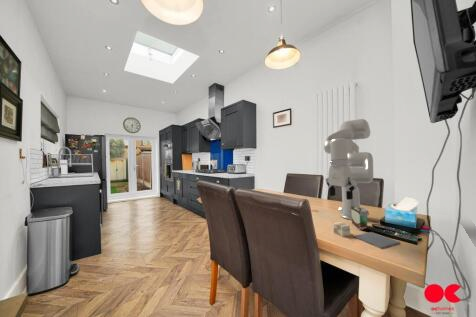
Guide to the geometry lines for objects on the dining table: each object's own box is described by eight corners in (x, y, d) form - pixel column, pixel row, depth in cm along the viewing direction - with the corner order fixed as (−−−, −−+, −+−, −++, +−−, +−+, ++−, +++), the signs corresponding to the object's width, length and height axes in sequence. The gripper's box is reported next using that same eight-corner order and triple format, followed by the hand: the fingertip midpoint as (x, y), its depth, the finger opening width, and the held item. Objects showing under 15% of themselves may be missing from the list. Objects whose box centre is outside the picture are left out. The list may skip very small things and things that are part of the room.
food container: (374, 232, 90) (373, 212, 90) (361, 231, 91) (360, 212, 91) (362, 223, 102) (362, 206, 102) (350, 223, 103) (350, 205, 104)
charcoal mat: (354, 237, 85) (354, 235, 85) (371, 233, 89) (371, 231, 89) (381, 248, 74) (381, 247, 74) (400, 243, 78) (400, 242, 78)
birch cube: (333, 233, 91) (333, 223, 91) (341, 231, 92) (340, 221, 92) (342, 237, 86) (342, 226, 86) (350, 235, 88) (349, 225, 88)
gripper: (320, 163, 96) (321, 195, 96) (349, 163, 80) (351, 201, 80) (330, 162, 99) (332, 193, 99) (361, 163, 83) (363, 200, 82)
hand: (340, 197), depth 89 cm, fingers open, 9 cm apart
